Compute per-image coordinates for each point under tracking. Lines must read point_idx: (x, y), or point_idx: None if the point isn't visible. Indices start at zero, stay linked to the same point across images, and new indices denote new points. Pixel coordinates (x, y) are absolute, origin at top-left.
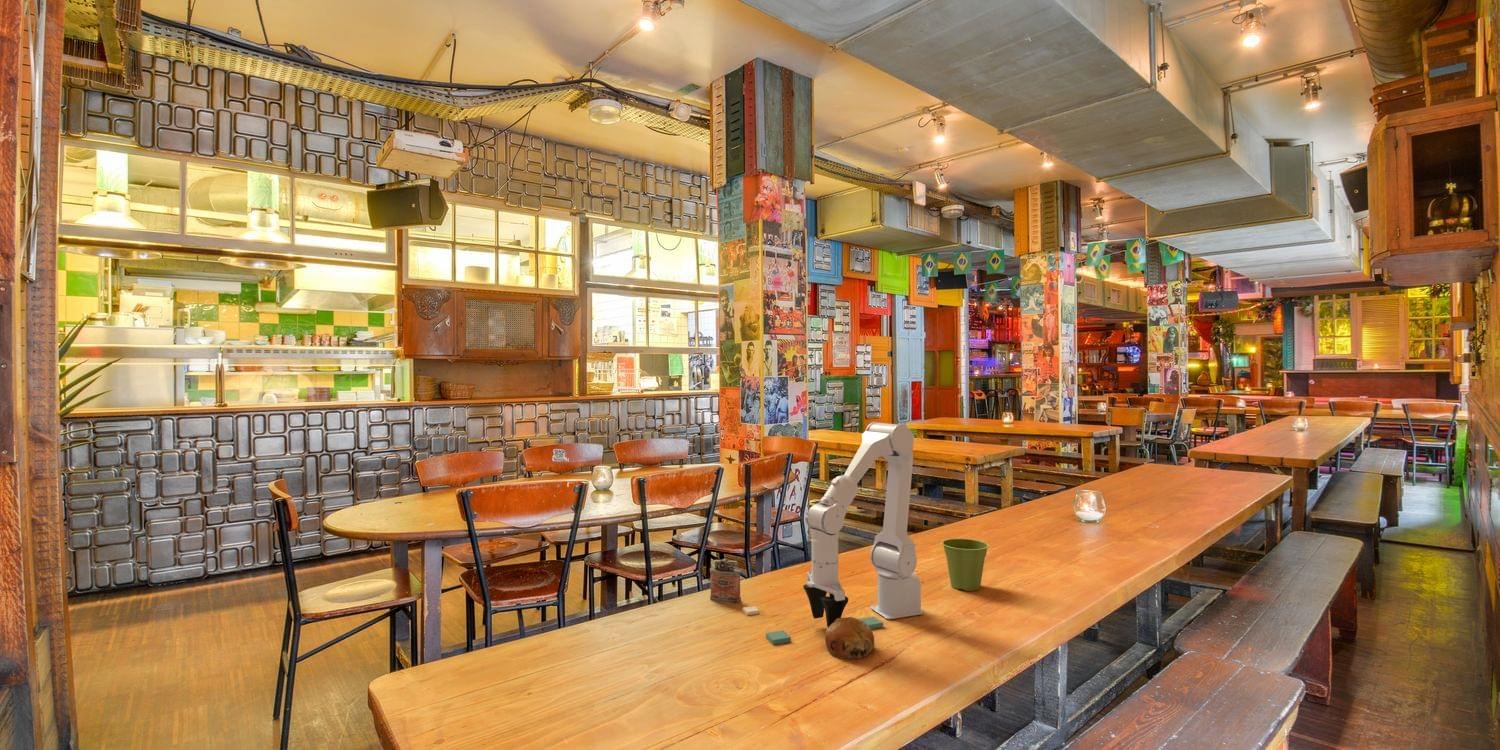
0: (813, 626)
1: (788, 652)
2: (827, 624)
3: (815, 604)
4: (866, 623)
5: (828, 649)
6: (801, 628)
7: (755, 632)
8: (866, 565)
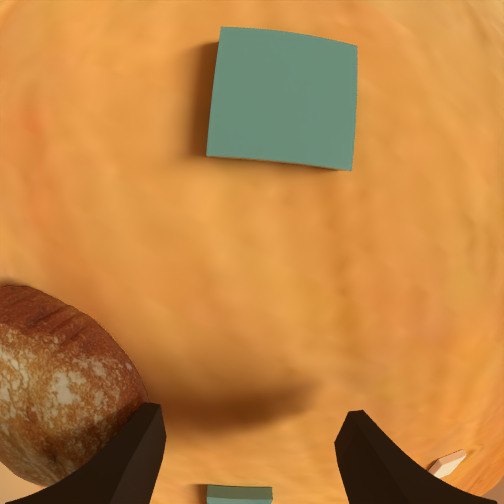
0: (349, 378)
1: (91, 90)
2: (141, 422)
3: (373, 478)
4: (221, 500)
5: (25, 290)
6: (366, 318)
7: (429, 60)
8: (473, 493)
